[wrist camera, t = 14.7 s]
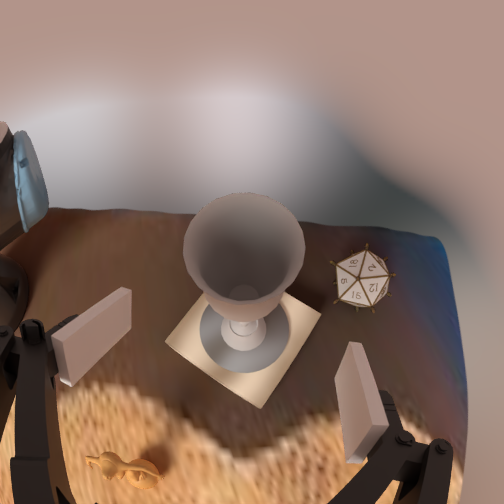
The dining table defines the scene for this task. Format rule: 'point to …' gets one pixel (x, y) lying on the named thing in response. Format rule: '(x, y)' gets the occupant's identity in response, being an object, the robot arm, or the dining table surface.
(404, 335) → the dining table surface
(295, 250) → the chalice
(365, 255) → the game die
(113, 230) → the dining table surface
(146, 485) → the figurine
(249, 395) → the pedestal
